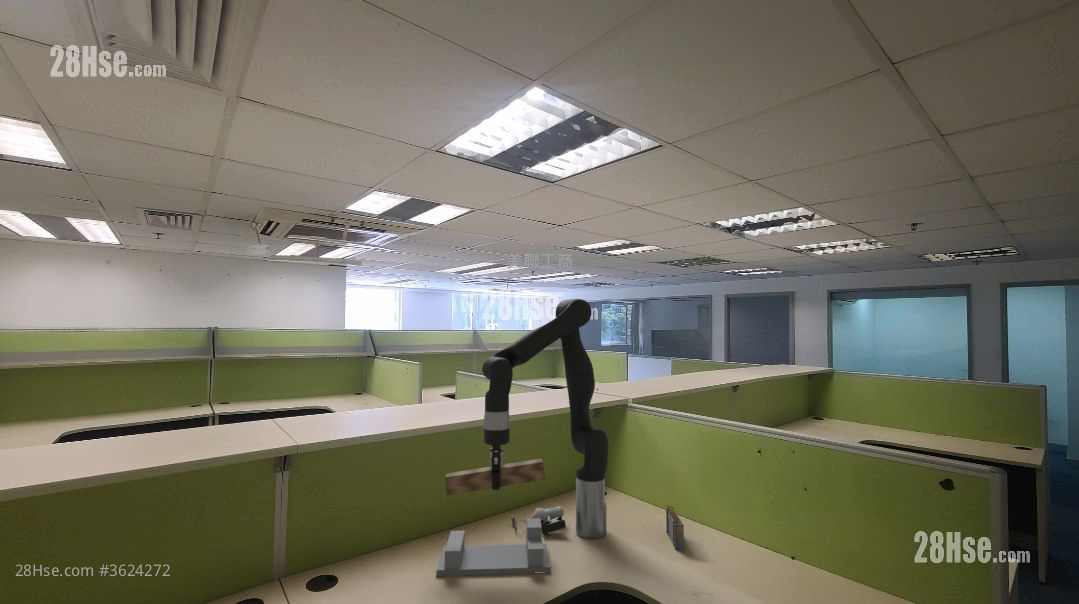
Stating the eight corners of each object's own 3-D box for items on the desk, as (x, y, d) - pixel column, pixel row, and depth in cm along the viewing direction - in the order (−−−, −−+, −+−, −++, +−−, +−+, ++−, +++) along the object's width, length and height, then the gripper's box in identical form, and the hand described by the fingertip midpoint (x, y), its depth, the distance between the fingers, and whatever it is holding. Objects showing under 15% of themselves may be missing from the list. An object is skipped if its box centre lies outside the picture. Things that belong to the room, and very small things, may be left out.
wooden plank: (544, 475, 129) (541, 458, 129) (545, 479, 125) (542, 461, 126) (448, 491, 127) (446, 473, 127) (447, 495, 123) (444, 477, 123)
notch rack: (546, 549, 129) (546, 517, 130) (550, 572, 116) (550, 537, 117) (443, 551, 127) (444, 519, 128) (436, 576, 114) (437, 540, 115)
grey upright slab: (665, 533, 140) (664, 502, 141) (674, 534, 140) (674, 502, 141) (673, 551, 129) (673, 517, 130) (684, 551, 129) (683, 517, 130)
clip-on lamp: (511, 545, 138) (567, 533, 137) (507, 525, 137) (563, 514, 137) (514, 525, 149) (565, 514, 149) (510, 507, 149) (561, 496, 149)
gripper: (509, 431, 120) (509, 495, 119) (509, 421, 134) (509, 478, 133) (482, 431, 120) (481, 496, 119) (485, 421, 134) (484, 479, 133)
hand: (496, 486), depth 126 cm, fingers closed on wooden plank, 3 cm apart
